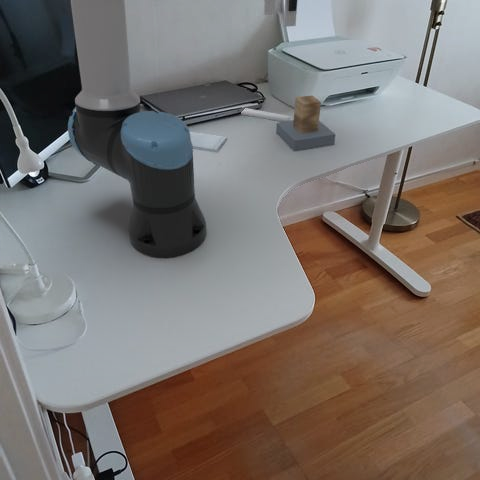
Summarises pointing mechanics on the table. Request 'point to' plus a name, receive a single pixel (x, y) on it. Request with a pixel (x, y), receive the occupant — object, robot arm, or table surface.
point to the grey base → (305, 136)
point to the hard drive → (207, 141)
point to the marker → (266, 115)
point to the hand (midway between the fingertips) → (278, 20)
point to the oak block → (306, 114)
